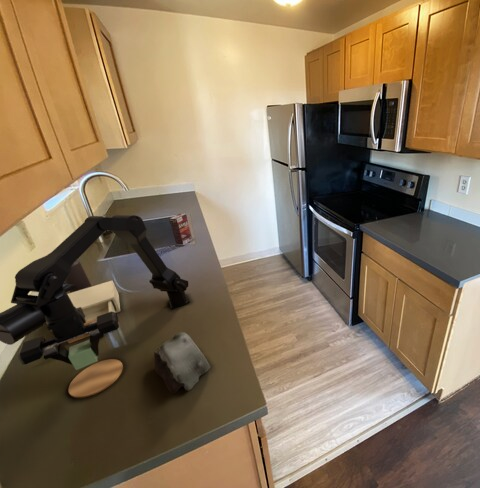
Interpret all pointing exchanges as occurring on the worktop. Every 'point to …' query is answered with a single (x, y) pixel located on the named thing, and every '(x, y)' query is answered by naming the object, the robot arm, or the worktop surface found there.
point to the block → (82, 355)
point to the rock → (180, 362)
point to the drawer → (95, 314)
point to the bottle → (78, 277)
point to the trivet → (95, 378)
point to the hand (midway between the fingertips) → (86, 359)
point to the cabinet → (96, 296)
